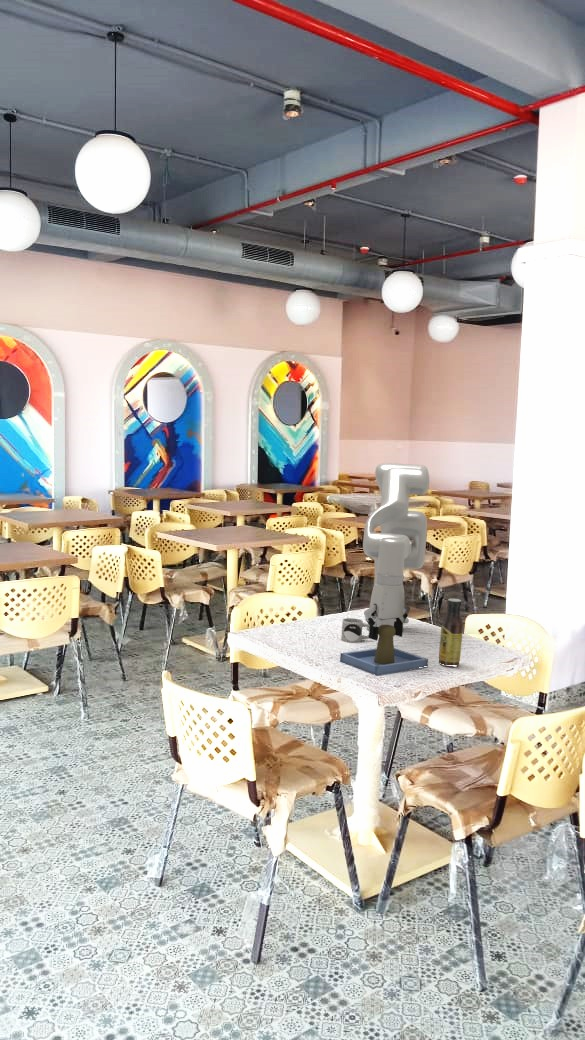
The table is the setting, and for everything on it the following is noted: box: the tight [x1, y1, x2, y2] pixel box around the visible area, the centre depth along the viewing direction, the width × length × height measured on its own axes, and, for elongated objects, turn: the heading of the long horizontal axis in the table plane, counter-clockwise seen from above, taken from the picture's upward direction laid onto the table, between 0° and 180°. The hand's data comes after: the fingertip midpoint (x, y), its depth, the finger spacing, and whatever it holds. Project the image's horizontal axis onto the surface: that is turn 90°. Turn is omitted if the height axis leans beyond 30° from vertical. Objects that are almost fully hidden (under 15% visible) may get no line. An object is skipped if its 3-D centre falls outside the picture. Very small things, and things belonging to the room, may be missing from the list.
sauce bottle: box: [438, 598, 464, 666], centre depth 243 cm, size 6×6×20 cm
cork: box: [374, 625, 396, 665], centre depth 240 cm, size 6×6×11 cm
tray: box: [339, 647, 429, 676], centre depth 240 cm, size 20×16×2 cm
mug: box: [340, 617, 370, 644], centre depth 268 cm, size 10×7×7 cm
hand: (385, 637), depth 240 cm, fingers open, 9 cm apart
